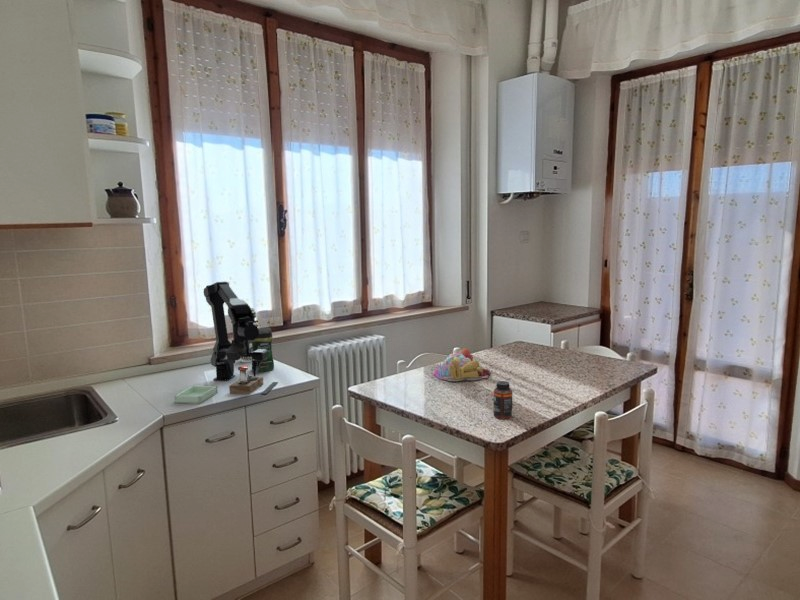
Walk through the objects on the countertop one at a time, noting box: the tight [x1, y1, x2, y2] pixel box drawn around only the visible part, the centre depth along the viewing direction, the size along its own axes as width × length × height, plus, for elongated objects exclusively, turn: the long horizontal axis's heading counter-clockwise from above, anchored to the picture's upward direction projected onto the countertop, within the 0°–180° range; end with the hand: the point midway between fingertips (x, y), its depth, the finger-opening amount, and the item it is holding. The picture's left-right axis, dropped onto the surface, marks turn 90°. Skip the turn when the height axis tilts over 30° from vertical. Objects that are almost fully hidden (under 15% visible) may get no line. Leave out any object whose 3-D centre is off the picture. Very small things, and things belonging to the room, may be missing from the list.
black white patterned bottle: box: [240, 307, 259, 363], centre depth 233 cm, size 9×9×25 cm
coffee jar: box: [251, 327, 275, 373], centre depth 216 cm, size 10×8×19 cm
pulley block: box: [229, 374, 264, 395], centre depth 191 cm, size 12×8×4 cm, turn 171°
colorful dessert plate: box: [433, 348, 492, 382], centre depth 205 cm, size 25×24×9 cm
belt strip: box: [260, 381, 279, 395], centre depth 191 cm, size 14×2×1 cm, turn 176°
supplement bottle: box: [493, 380, 513, 420], centre depth 157 cm, size 6×6×11 cm
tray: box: [173, 385, 218, 405], centre depth 182 cm, size 12×10×3 cm
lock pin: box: [237, 365, 249, 385], centre depth 189 cm, size 4×4×9 cm
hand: (243, 375), depth 189 cm, fingers open, 9 cm apart
